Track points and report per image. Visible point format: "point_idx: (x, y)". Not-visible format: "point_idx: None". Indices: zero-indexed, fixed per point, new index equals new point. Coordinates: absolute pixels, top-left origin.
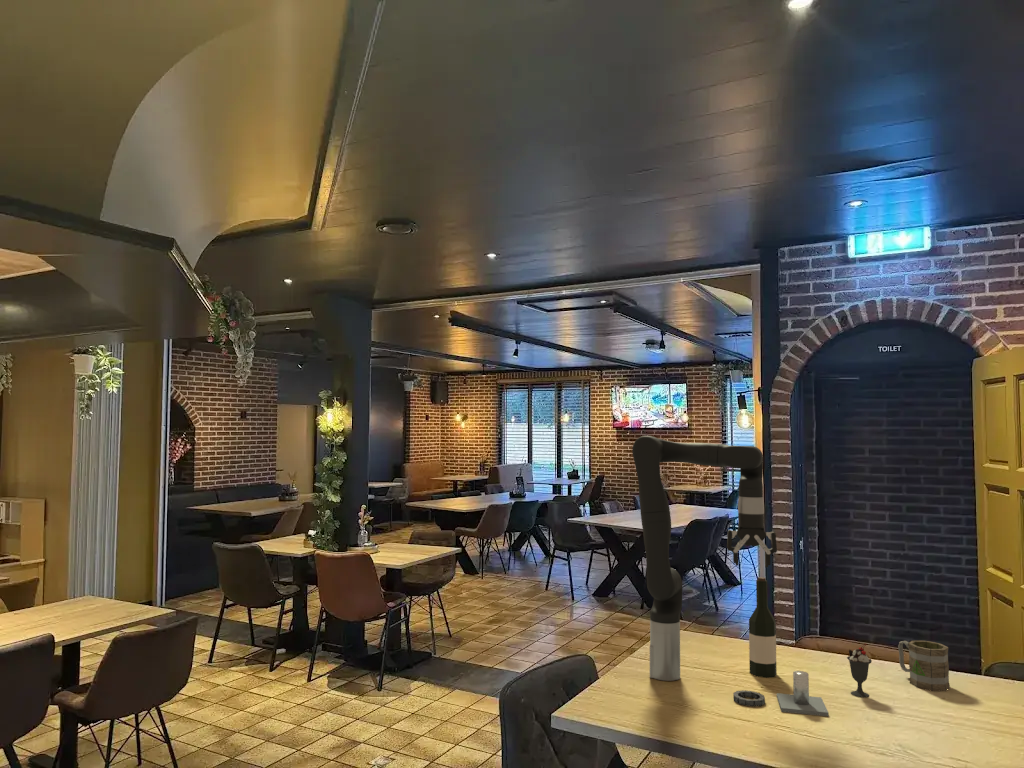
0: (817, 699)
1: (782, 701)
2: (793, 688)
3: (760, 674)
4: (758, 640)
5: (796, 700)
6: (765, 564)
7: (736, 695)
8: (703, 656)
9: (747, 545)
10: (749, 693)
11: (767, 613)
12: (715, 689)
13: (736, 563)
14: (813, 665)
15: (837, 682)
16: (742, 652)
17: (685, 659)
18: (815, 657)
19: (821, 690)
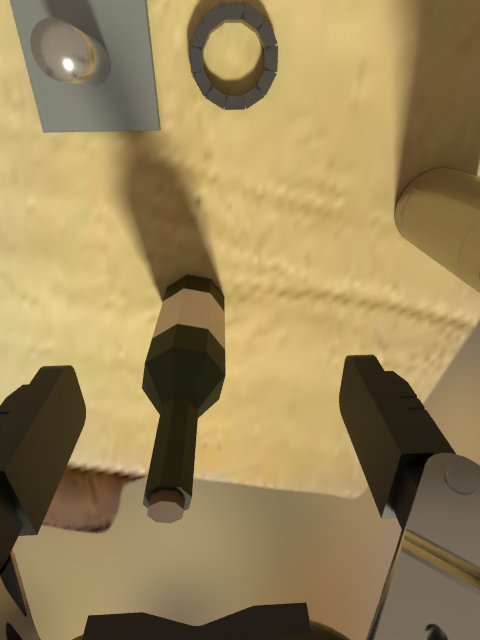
0: (50, 107)
1: (141, 51)
2: (99, 56)
3: (199, 279)
4: (199, 320)
5: (98, 41)
6: (71, 402)
7: (270, 46)
8: (317, 375)
9: (286, 609)
10: (231, 96)
11: (162, 384)
12: (316, 141)
13: (373, 360)
14: (91, 385)
15: (29, 292)
16: (234, 420)
17: (359, 345)
18: (91, 431)
19: (56, 222)
